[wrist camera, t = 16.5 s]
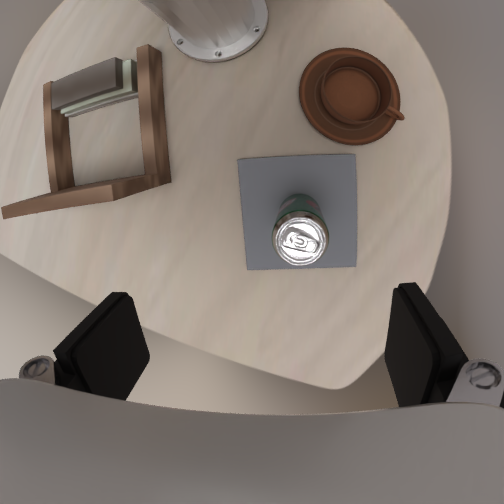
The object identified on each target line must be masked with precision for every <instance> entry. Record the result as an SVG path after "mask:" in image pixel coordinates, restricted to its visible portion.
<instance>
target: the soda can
mask: <svg viewBox="0 0 504 504" xmlns="http://www.w3.org/2000/svg"><path fill="white" fill-rule="evenodd" d="M328 244H329V231H328V228H327V225H326V223H325V220H324V217H323V215H322V212H321V209H320V207H319V205H318V203H317V202H316V200H314V199H313V198H312V197H311V196H309V195H306V194H293V195H291V196H289V197H287V198H286V199H285V200H284V201H283V202H282V204H281V206H280V208H279V211H278V215H277V218H276V221H275V224H274V228H273V231H272V245H273V248H274V250H275V252H276V253H277V255H278V256H279V257H280V258H281V259H282V260H284V261H285V262H287V263H289V264H292V265H296V266H305V265H309V264H312V263H314V262H316V261H317V260H319V259H320V258H321V257H322V256H323V255H324V253H325V252H326V250H327V247H328Z"/></svg>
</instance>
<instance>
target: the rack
mask: <svg viewBox="0 0 504 504" xmlns="http://www.w3.org/2000/svg"><path fill="white" fill-rule="evenodd" d="M134 98H139V114H140V127H141V139H142V150H143V159H144V169H145V174H144V175H138V176H131V177H125V178H119V179H113V180H107V181H102V182H96V183H91V184H85V185H80V186H75V185H74V177H73V169H72V160H71V150H70V138H69V123H68V117H74V116H77V115H80V114H83V113H86V112H89V111H92V110H95V109H98V108H102V107H105V106H108V105H112V104H115V103H119V102H122V101H126V100H130V99H134ZM43 106H44V130H45V145H46V156H47V166H48V174H49V182H50V189H51V193H47V194H44V195H40V196H37V197H33V198H30V199H26V200H23V201H20V202H16V203H13V204H10V205H7V206H4V207H1V209H2V215H3V219H7V218H12V217H17V216H23V215H28V214H34V213H39V212H45V211H51V210H57V209H63V208H69V207H75V206H82V205H88V204H95V203H102V202H109V201H115V200H118V199H121V198H124V197H127V196H130V195H133V194H136V193H139V192H142V191H145V190H148V189H151V188H154V187H158V186H161V185H164V184H167V183H171V175H170V166H169V156H168V146H167V135H166V123H165V110H164V96H163V79H162V58H161V52H160V51H159V50H157V49H155V48H154V47H152V46H150V45H149V44H147V45H144V46H141V47H137V60H132V59H129V60H126V61H123V62H122V60H121V59H118V58H116V57H115V58H112V59H109V60H106V61H103V62H101V63H98V64H95V65H93V66H90V67H87V68H85V69H82V70H80V71H78V72H75V73H73V74H71V75H68V76H66V77H64V78H61V79H59V80H57V81H55V82H53V81H50V82H48V83H46V84H44V85H43Z"/></svg>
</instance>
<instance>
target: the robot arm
mask: <svg viewBox="0 0 504 504" xmlns="http://www.w3.org/2000/svg"><path fill="white" fill-rule="evenodd" d="M138 1H140V2H141V3H142V4H144V5H145V6H146V7H147V8H149V9H150V10H151V11H152V12H154V13H155V14H156V15H157V16H159V17H160V18H161V19H162V20H163V21H165V22H166V23H167V24H168V25H169V34H170V37H171V39H172V42H173V43H174V44H175V46H176V47H177V48H178V49H179V50H180V51H181V52H182V53H184V54H185V55H187V56H188V57H191V58H193V59H195V60H199V61H204V62H219V61H225V60H229V59H233V58H235V57H237V56H239V55H242V54H243V53H245V52H246V51H248V50H250V49H251V48H252V47H253V46H254V45H255V44H256V43H257V42H258V41H259V40H260V38H261V37H262V36H263V34H264V32H265V30H266V27H267V23H268V9H267V5H266V3H265V0H138ZM256 30H259V32H256ZM182 42H183V44H181V43H182ZM219 54H222V56H220V57H219ZM53 352H54V354H55V356H56V358H57V360H56V361H55V362H54V361H53V359H52V358H51V357H49V356H37V357H35V358H32V359H30V360H29V361H27V362H26V363H25V364H24V365H23V366H22V367H21V369H20V372H19V378H10V379H2V380H0V504H504V370H503V369H502V368H501V367H500V366H499V365H498V364H496V363H495V362H493V361H490V360H487V359H473V360H470V361H469V360H468V358H467V356H466V355H465V353H464V352H463V350H462V348H461V347H460V345H459V344H458V342H457V340H456V339H455V338H454V336H453V334H452V333H451V331H450V330H449V328H448V327H447V325H446V324H445V322H444V321H443V319H442V318H441V317H440V316H439V315H438V313H437V312H436V310H435V309H434V307H433V306H432V305H431V303H430V302H429V300H428V299H427V297H426V296H425V295H424V293H423V292H422V290H421V289H420V288H419V286H418V285H417V284H416V283H415V282H413V283H400V284H399V286H398V288H394V290H393V296H392V305H391V313H390V321H389V328H388V334H387V341H386V347H385V362H386V365H387V368H388V371H389V375H390V378H391V381H392V384H393V387H394V391H395V394H396V398H397V401H398V404H399V407H397V408H386V409H378V410H369V411H357V412H345V413H330V414H300V415H263V414H236V413H220V412H206V411H196V410H186V409H177V408H169V407H161V406H155V405H148V404H142V403H135V402H130V401H126V399H127V397H128V396H129V394H130V392H131V391H132V389H133V387H134V385H135V384H136V382H137V381H138V379H139V377H140V376H141V374H142V372H143V371H144V369H145V367H146V366H147V364H148V362H149V359H150V354H149V350H148V347H147V345H146V342H145V338H144V335H143V332H142V329H141V325H140V322H139V319H138V315H137V312H136V308H135V305H134V301H133V299H132V297H131V296H129V295H128V293H126V292H112V293H111V294H110V295H108V296H107V297H106V298H105V299H104V300H103V301H102V302H101V303H100V304H99V305H98V306H97V307H96V308H95V309H94V310H93V311H92V312H91V313H90V314H89V315H88V316H87V317H86V318H85V319H84V320H83V321H82V322H81V323H80V324H79V325H78V326H77V327H76V328H75V329H74V330H73V331H72V332H71V333H70V334H69V335H68V336H67V337H66V338H65V339H64V340H63V341H62V342H61V343H60V344H59V345H58V346H57V347H56V348H55V349H54V350H53Z"/></svg>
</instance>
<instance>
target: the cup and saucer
mask: <svg viewBox="0 0 504 504" xmlns="http://www.w3.org/2000/svg"><path fill="white" fill-rule="evenodd" d="M299 96H300V102H301V106H302V108H303V111H304V113H305V115H306V117H307V118H308V120H309V121H310V123H311V124H312V125H313V126H314V127H315V128H316V129H317V130H318V131H319V132H320V133H322V134H323V135H324V136H326V137H328V138H330V139H332V140H334V141H336V142H339V143H343V144H347V145H363V144H368V143H371V142H374V141H376V140H378V139H380V138H382V137H383V136H384V135H385V134H387V133H388V132H389V131H390V130H391V128H392V127H393V125H394V124H395V122H396V120H404V115H403V114H402V113H401V112H399V111H400V93H399V88H398V85H397V83H396V80H395V78H394V76H393V75H392V73H391V72H390V71H389V69H388V68H387V67H386V66H385V65H384V64H383V63H382V62H381V61H380V60H378V59H377V58H376V57H374V56H373V55H371V54H369V53H367V52H364V51H361V50H358V49H354V48H335V49H331V50H328V51H325V52H323V53H321V54H319V55H318V56H316V57H315V58H314V59H313V60H312V61H311V62H310V63H309V64H308V65H307V67H306V68H305V70H304V72H303V74H302V77H301V80H300V86H299Z"/></svg>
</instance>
